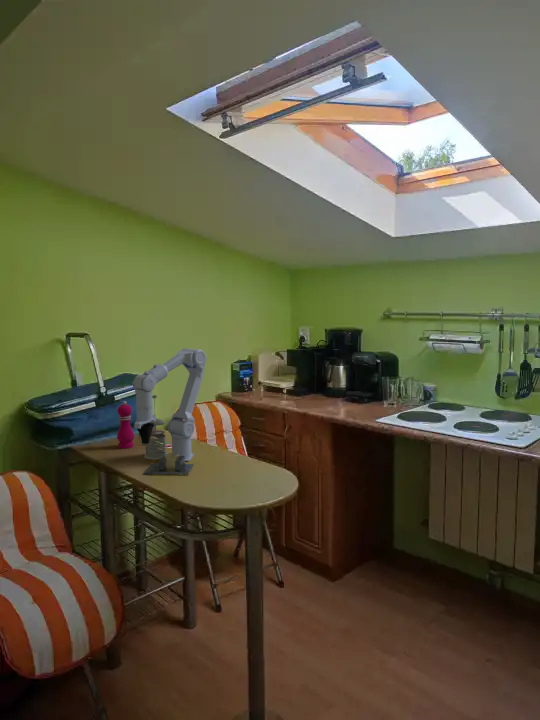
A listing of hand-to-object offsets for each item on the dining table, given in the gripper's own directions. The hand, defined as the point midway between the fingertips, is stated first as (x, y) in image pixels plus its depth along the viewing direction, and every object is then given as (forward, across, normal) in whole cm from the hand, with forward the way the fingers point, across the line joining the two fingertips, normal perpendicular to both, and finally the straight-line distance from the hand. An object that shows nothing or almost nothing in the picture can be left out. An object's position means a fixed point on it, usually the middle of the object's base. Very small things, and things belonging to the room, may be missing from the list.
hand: (145, 443), depth 198 cm
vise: (+10, 0, -9) cm, 13 cm away
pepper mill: (+10, +28, +21) cm, 36 cm away
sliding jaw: (+9, +2, -7) cm, 11 cm away
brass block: (+9, 0, -10) cm, 13 cm away
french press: (+10, +17, +4) cm, 20 cm away
